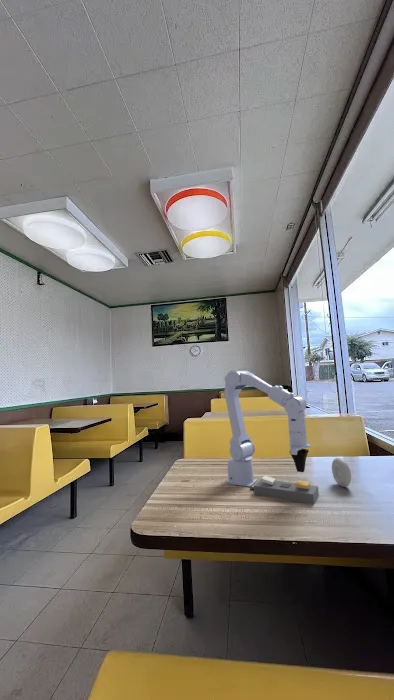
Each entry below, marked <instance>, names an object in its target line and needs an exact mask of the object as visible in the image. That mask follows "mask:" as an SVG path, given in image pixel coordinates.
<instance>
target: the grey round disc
mask: <svg viewBox="0 0 394 700" xmlns="http://www.w3.org/2000/svg"><path fill="white" fill-rule="evenodd" d="M331 473H332V477H333V479H334V481H335V483H336V484H337V485H338V486H340V487H342V488H346V487H349V486H350V484H351V481H352V472H351V469H350V466H349V464H348V462H347V461H346V460H345V459H343V458H342V457H336V458H334V459H333V460H332V464H331Z"/></svg>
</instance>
